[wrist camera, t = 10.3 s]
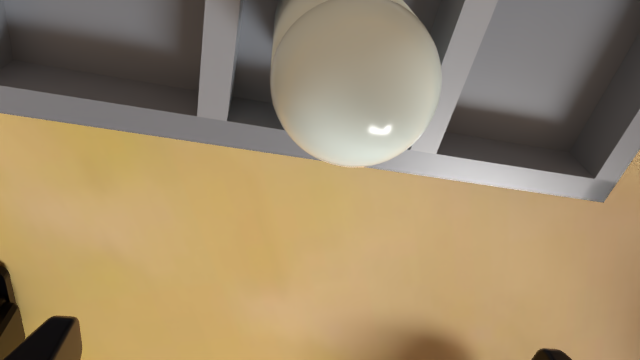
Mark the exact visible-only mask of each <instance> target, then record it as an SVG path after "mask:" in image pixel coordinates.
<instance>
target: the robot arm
mask: <svg viewBox="0 0 640 360" xmlns="http://www.w3.org/2000/svg"><path fill="white" fill-rule="evenodd" d="M24 339H25V333H24V329H23V324H22V319H21V315H20V310H19V307H18V305H17V304H16V302H15V298H14V293H13V289H12V284H11V279H10V275H9V272H8V271H7V270H6V269H5V268H3V267H1V266H0V360H80V359H81V354H82V341H81V333H80V326H79V321H78V319H77V318H76V317H71V316H53V317H50V318H49V319H48V320H46V321H45V322H44V323H43V324H42V325H41V326H40V327H38V328H37V329H36V330H35V331H34V332H33V333H32V334H30V335H29V336H28V337H27V338H26V339H25V340H24ZM532 360H572V359H571V358H570V357H568V356H567V355H566V354H565V353H564V352H562V351H560V350H557V349H546V348H543V349H540V350H538V351H537V353H536V354H535V355H534V357H533V358H532Z"/></svg>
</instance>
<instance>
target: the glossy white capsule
mask: <svg viewBox="0 0 640 360" xmlns="http://www.w3.org/2000/svg"><path fill="white" fill-rule="evenodd" d="M441 86H442V72H441V64H440V59H439V55H438V51H437V48H436V46H435V43H434V41H433V39H432V37H431V35H430V34H429V32H428V31H427V29H426V27H425V26H424V25H423V23H422V22H421V21H420V20H419V19H418V17H417V16H416V15H415V14H414V13H413V11H412V10H411V9H410V8H409V7H408V5H407V4H406V3H405V2H404V1H403V0H279V1H278V4H277V7H276V12H275V20H274V32H273V46H272V59H271V72H270V89H271V97H272V102H273V106H274V109H275V111H276V114H277V117H278V119H279V121H280V123H281V125H282V127H283V128H284V129H285V131H286V132H287V134H288V135H289V136H290V137H291V138H292V140H293V141H294V142H295V143H296V144H297V145H298V146H299V147H301V148H302V149H303V150H304V151H305V152H307V153H309V154H310V155H312V156H313V157H315V158H317V159H320V160H322V161H324V162H327V163H330V164H333V165H337V166H342V167H365V166H372V165H376V164H380V163H382V162H385V161H388V160H390V159H392V158H394V157H396V156H398V155H399V154H401V153H402V152H404V151H406V150H407V149H408V148H409V147H410V146H412V145H413V144H414V143H415V142H416V141H417V140H418V139H419V138H420V137H421V135H422V134H423V133H424V131H425V130H426V128H427V127H428V125H429V124H430V122H431V120H432V118H433V116H434V114H435V112H436V109H437V106H438V103H439V99H440V93H441Z"/></svg>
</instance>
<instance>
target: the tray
mask: <svg viewBox="0 0 640 360" xmlns="http://www.w3.org/2000/svg"><path fill="white" fill-rule="evenodd" d="M278 1H279V0H0V113H4V114H10V115H17V116H24V117H31V118H37V119H44V120H51V121H57V122H64V123H71V124H78V125H84V126H91V127H98V128H105V129H111V130H118V131H125V132H132V133H138V134H145V135H152V136H159V137H165V138H172V139H179V140H186V141H192V142H199V143H206V144H213V145H219V146H226V147H233V148H239V149H246V150H253V151H260V152H266V153H273V154H280V155H287V156H293V157H300V158H307V159H314V160H320V159H317V158H315V157H313V156H312V155H310V154H309V153H307V152H305V151H304V150H303V149H302V148H301V147H299V146H298V145H297V144H296V143H295V142H294V141H293V140H292V138H291V137H290V136H289V135H288V134H287V132H286V131H285V129H284V128H283V127H282V125H281V123H280V121H279V119H278V117H277V114H276V111H275V109H274V106H273V102H272V97H271V89H270V72H271V59H272V46H273V32H274V20H275V12H276V7H277V4H278ZM403 1H404V2H405V3H406V4H407V5H408V7H409V8H410V9H411V10H412V11H413V13H414V14H415V15H416V16H417V17H418V19H419V20H420V21H421V22H422V23H423V25H424V26H425V27H426V29H427V31H428V32H429V34H430V35H431V37H432V39H433V41H434V43H435V46H436V48H437V51H438V55H439V59H440V64H441V72H442V86H441V93H440V99H439V103H438V106H437V109H436V112H435V114H434V116H433V118H432V120H431V122H430V124H429V125H428V127H427V128H426V130H425V131H424V133H423V134H422V135H421V137H420V138H419V139H418V140H417V141H416V142H415V143H414V144H413V145H412V146H410V147H409V148H408V149H407V150H406V151H404V152H402V153H401V154H399V155H398V156H396V157H394V158H392V159H390V160H388V161H385V162H382V163H380V164H376V165H372V166H365V167H368V168H374V169H381V170H388V171H395V172H401V173H408V174H415V175H421V176H428V177H435V178H442V179H448V180H455V181H462V182H469V183H475V184H482V185H489V186H496V187H502V188H509V189H516V190H523V191H529V192H536V193H543V194H550V195H556V196H563V197H570V198H576V199H583V200H590V201H597V202H603V203H604V201H605V200H606V198H607V197H608V195H609V194H610V192H611V191H612V189H613V188H614V186H615V185H616V183H617V182H618V181H619V179H620V178H621V176H622V175H623V173H624V172H625V170H626V169H627V167H628V166H629V164H630V163H631V161H632V160H633V158H634V157H635V155H636V154H637V153H638V151H639V150H640V0H403ZM320 161H322V160H320Z"/></svg>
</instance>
